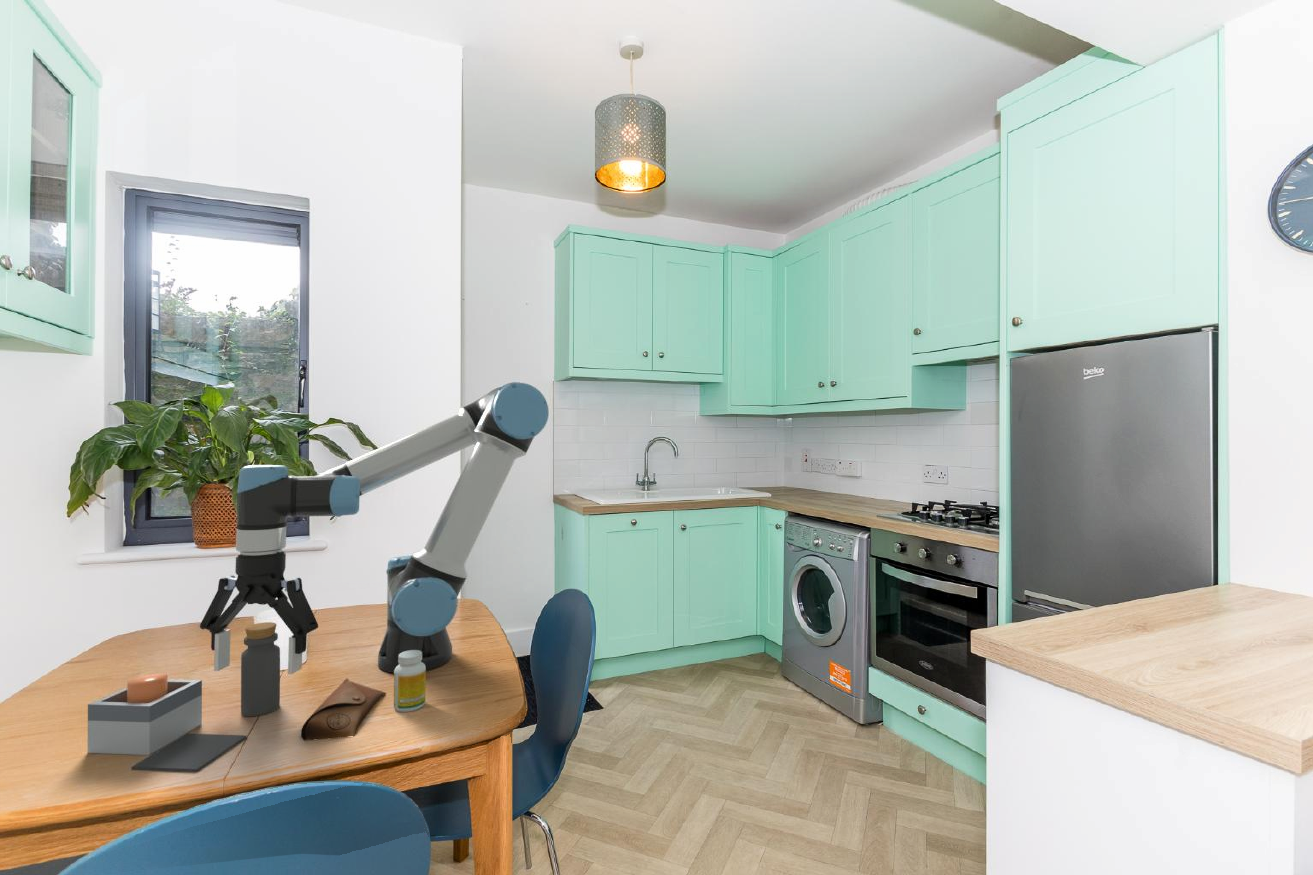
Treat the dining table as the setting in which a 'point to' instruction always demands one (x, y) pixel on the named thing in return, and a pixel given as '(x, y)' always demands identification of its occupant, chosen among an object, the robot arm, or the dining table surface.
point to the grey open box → (144, 719)
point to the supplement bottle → (409, 681)
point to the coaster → (190, 752)
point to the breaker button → (147, 688)
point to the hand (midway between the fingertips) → (258, 669)
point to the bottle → (260, 670)
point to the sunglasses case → (341, 712)
